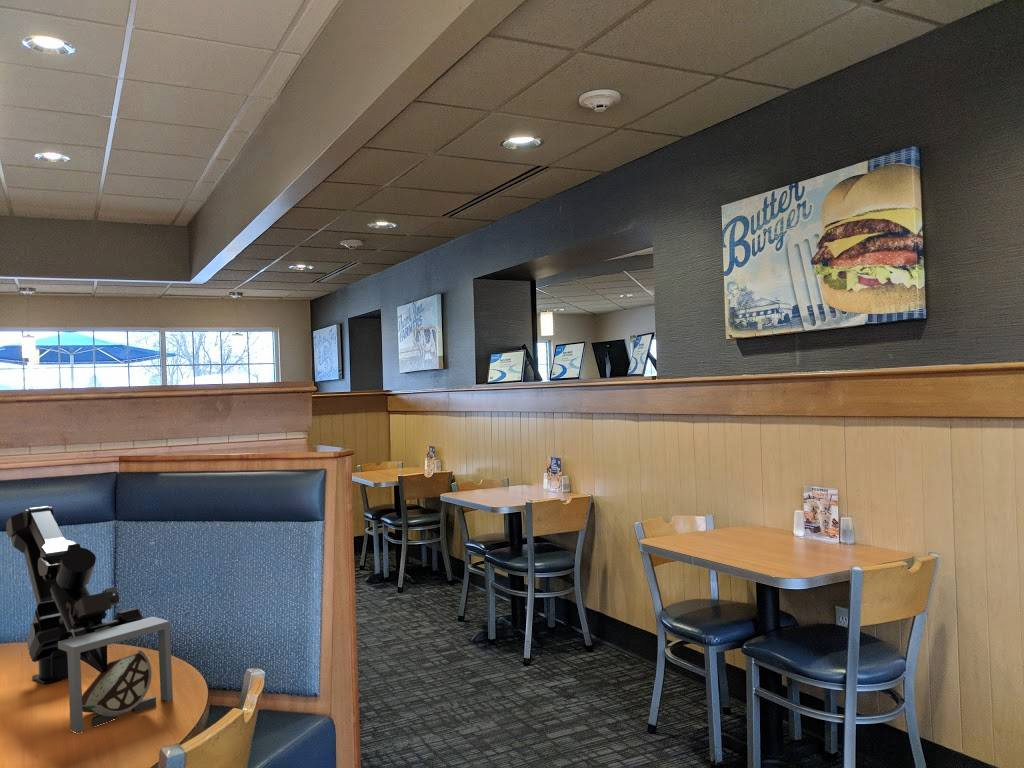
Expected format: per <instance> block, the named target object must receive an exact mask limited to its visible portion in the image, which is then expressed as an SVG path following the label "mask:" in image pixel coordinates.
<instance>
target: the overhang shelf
mask: <svg viewBox="0 0 1024 768" xmlns="http://www.w3.org/2000/svg"><path fill="white" fill-rule="evenodd" d="M170 624H171V621H170V620H167V619H164V618H161V617H156V616H150V617H147V618H143V619H142V620H138V621H134V622H131V623H127V624H123V625H119V626H115V627H112V628H108V629H104V630H100V631H96V632H93V633H89V634H85V635H81V636H78V637H74V638H70V639H66V640H62V641H59V642H58V649H61V650H63V651H66V652H67V657H68V677H67V679H68V681H67V682H68V698H69V699H68V700H69V701H68V702H69V704H68V705H69V726H70V729H71V730H72V731H74V732H76V733H80V734H82V733H81V732H83V733H84V716H83V715H84V714H83V713H84V712H83V711H82V695H83V689H82V670H81V669H82V667H81V665H82V664H81V660H80V653H81V652H85V651H88V650H92V649H95V648H99V647H102V646H106V645H107V646H108V645H109V646H110V645H113V644H117V643H120V642H123V641H127V640H130V639H134V638H137V637H142V636H145V635H148V634H152V633H156V632H157V641H158V643H157V644H158V665H159V685H160V686H159V687H160V689H159V690H160V700H161V699H162V701H165V702H167V703H168V702H172V701H174V696H173V694H174V693H173V692H174V691H173V673H172V672H173V670H172V669H173V667H172V648H171V647H172V646H171V625H170ZM156 706H157V697H156V696H154V695H152V696H149V697H146V698H143V699H142V700H141V702H140V703H139V704H138V705H136V706H135V707H134V708H132V709H131V713H133V712H134V713H133V714H136V713H138V712H141V711H144V710H148V709H150V708H152V707H156ZM135 712H136V713H135ZM118 717H119V715H117V716H104V715H100V714H96V715H94V716H91V719H90V720H91V726H92V725H93V726H97V725H100V724H103V723H105V724H107V723H106V722H108V723H110V722H109V721H111V720H113V719H116V718H118ZM118 719H119V718H118ZM111 722H112V721H111ZM103 725H104V724H103ZM100 726H101V725H100ZM97 727H98V726H97Z"/></svg>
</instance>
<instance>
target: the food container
mask: <svg viewBox="0 0 1024 768" xmlns="http://www.w3.org/2000/svg"><path fill="white" fill-rule="evenodd" d="M151 666H152V665H151V662H150V660H149V658H148V656H147V655H146V653H145V652H144V651H143V650H137V652H136V653H133V654H130V655H127V656H125V657H124V656H123V657H122V658H119V659H116V660H113V661H110V662H107V670H106V671H105V672H103V673H100V672H99V674H98V675H97V676H96V677H95V679H94V680H93V682H91V684H90V685H89V686H88V687H87V688H86V690H85V691H84V692H82V711H83V713H85V714H86V713H87V714H89V713H96V714H97V715H104V716H117V715H118V716H121V715H123V714H127V713H128V712H129V711H132V708H134V707H135V706H136V705H138V704H139V703H140V702H141V700H143V699H145V696H146V695H147V693H148V691H149V689H150V686H151V683H152V676H153V675H152V673H153V672H152V667H151Z"/></svg>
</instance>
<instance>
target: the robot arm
mask: <svg viewBox="0 0 1024 768" xmlns="http://www.w3.org/2000/svg"><path fill="white" fill-rule="evenodd" d="M5 527H6V535H7V537H8V538H10V540H11V544H12V546H13V548H15V549H16V550H18V551H19V552H21V553H22V554H23V555H24V558H25V562H26V566H27V571H28V573H29V574H28V575H29V578H30V583H31V587H32V589H33V596H34V599H35V602H36V609H35V612H34V615H33V619H32V621H31V622H32V623H30V628H29V632H28V634H27V635H28V636H27V648H28V653H29V654H28V655H29V656H30V659H31V661H32V662H34V663H37V662H38V673H37V674H34V675H31V678H32V680H34V681H37V682H39V683H42V684H45V685H47V684H51V683H53V682H57V681H60V680H64V679H68V657H67V652H66V651H63V650H61V649H58V642H59V641H62V640H66V639H70V638H74V637H78V636H81V635H85V634H89V633H93V632H96V631H100V630H104V629H108V628H112V627H115V626H119V625H123V624H127V623H131V622H134V621H138V620H142V619H144V616H143V614H142V612H141V610H140V609H138V608H136V607H132V608H130V609H125V610H121V611H118V612H117V613H116V615H115V616H114V619H113V620H111V621H106V622H103V620H105V619H106V618H107V615H108V614H107V613H106V612H107V611H109V610H112V606H116V605H117V604H118V603H119V602H120V596H119V593H118V591H117V589H116V587H115V586H113V587H109V588H105V589H104V590H102V592H100V593H99V592H98V593H94V594H90V592H89V590H88V587H87V585H89V583H90V580H91V577H92V575H93V571H94V568H95V565H96V561H97V559H96V558H97V557H96V555H95V553H94V552H92V551H91V550H90V549H88V548H85V547H81V543H76V542H75V541H72V540H68V539H66V538H65V537H64V534H63V532H62V531H61V528H60V526H59V524H58V523H57V521H56V518H55V511H54V508H53V507H52V506H49V505H43V506H35V507H29V508H27V509H24V510H23V511H21V512H19V513H17V514H13V515H12V516H10V517H9V519H8V520H6V526H5ZM80 661H82V662H84V663H86V664H87V665H89V666H90V667H91V668H93V669H95V670H96V671H98V672H99V674H100V673H103V672H105V671H106V670H107V664H108V645H106V646H102V647H99V648H95V649H92V650H88V651H85V652H81V653H80Z"/></svg>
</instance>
